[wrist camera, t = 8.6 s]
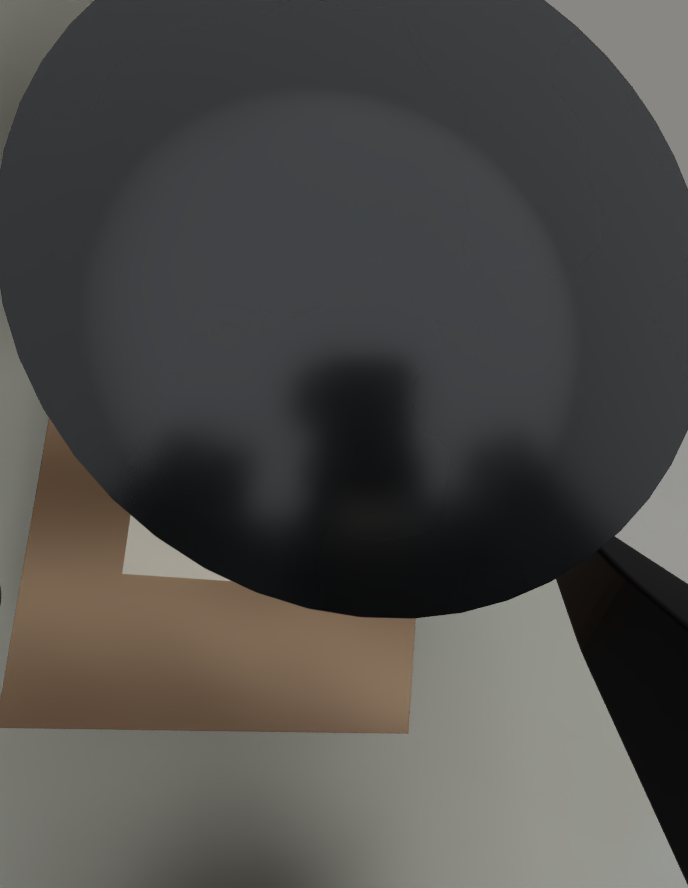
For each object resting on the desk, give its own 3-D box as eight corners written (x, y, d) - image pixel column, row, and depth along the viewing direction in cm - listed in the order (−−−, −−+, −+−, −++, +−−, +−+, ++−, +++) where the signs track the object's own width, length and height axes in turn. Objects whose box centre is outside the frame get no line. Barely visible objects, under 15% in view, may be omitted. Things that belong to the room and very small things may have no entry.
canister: (369, 525, 17) (796, 498, 4) (195, 575, 16) (100, 742, 3) (324, 361, 17) (593, -83, 5) (151, 397, 16) (-82, -75, 4)
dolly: (381, 704, 19) (409, 734, 16) (30, 695, 17) (-6, 729, 14) (403, 390, 21) (432, 370, 18) (88, 346, 19) (65, 314, 16)
